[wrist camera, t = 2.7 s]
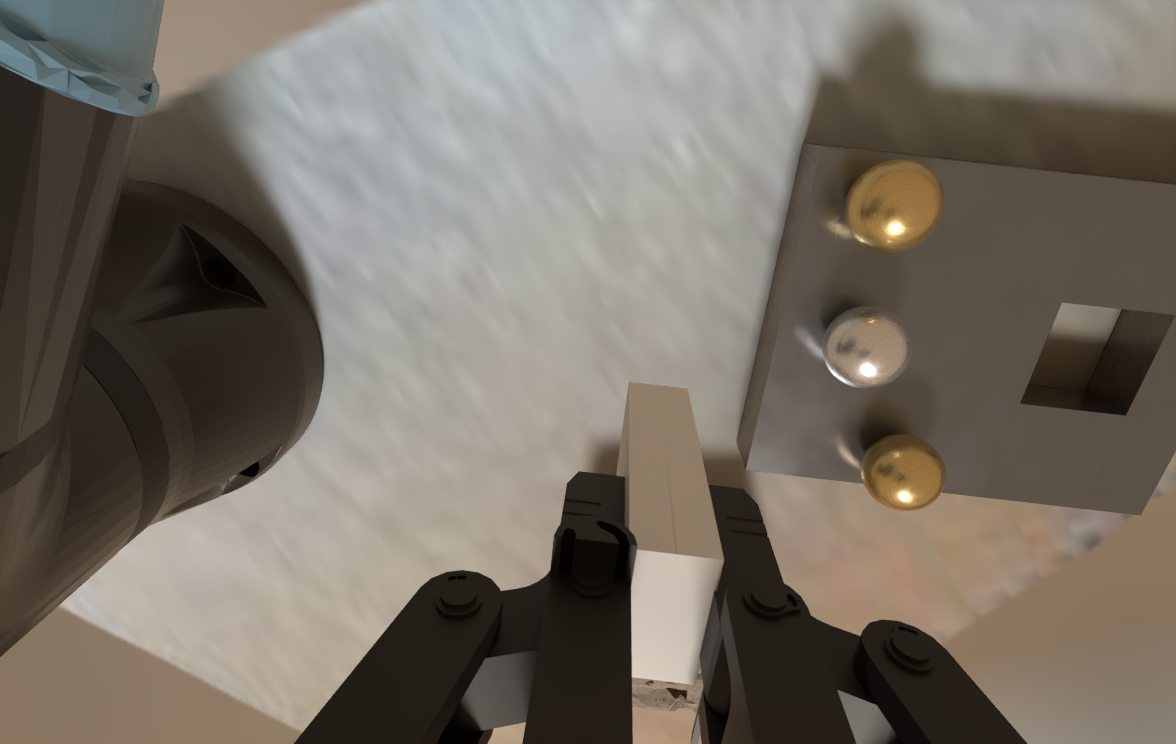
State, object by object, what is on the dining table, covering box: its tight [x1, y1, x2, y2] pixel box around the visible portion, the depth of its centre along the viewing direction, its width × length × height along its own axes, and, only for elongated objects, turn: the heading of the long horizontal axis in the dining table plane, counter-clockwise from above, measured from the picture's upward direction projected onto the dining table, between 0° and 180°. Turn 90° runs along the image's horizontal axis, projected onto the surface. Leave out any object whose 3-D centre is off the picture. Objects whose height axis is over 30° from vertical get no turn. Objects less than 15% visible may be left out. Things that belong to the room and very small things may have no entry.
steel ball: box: [822, 306, 912, 388], centre depth 24 cm, size 3×3×3 cm
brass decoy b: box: [861, 434, 946, 511], centre depth 26 cm, size 3×3×3 cm
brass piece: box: [844, 160, 945, 253], centre depth 22 cm, size 3×3×3 cm
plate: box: [737, 143, 1176, 515], centre depth 27 cm, size 18×14×2 cm
